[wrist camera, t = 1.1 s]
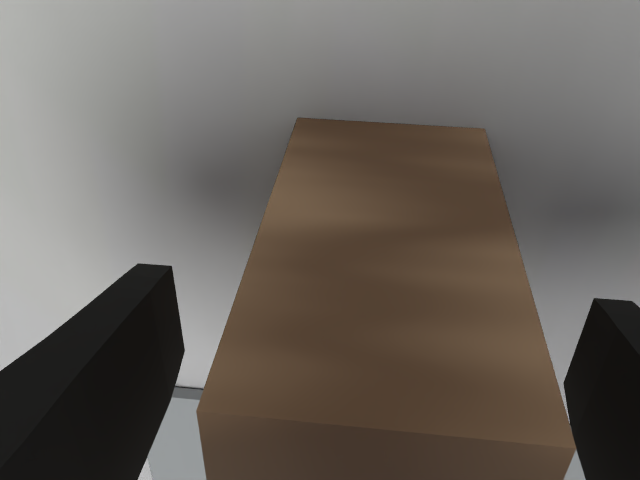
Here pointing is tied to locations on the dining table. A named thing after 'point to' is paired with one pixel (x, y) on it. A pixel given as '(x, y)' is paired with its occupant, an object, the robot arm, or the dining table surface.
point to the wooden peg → (384, 321)
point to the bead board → (186, 452)
